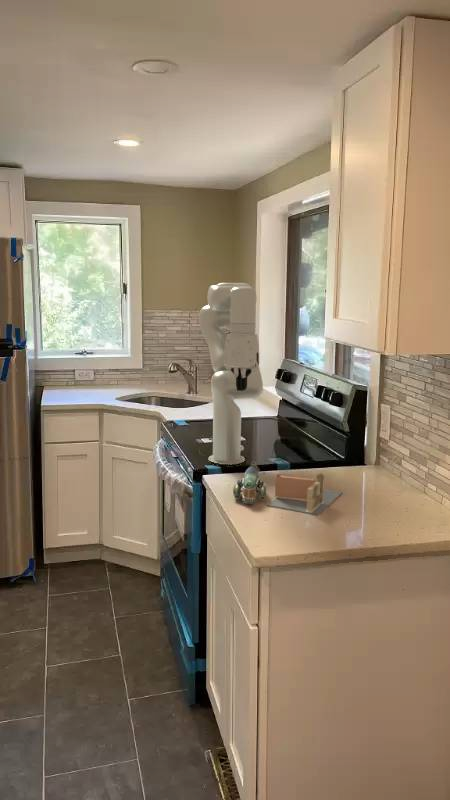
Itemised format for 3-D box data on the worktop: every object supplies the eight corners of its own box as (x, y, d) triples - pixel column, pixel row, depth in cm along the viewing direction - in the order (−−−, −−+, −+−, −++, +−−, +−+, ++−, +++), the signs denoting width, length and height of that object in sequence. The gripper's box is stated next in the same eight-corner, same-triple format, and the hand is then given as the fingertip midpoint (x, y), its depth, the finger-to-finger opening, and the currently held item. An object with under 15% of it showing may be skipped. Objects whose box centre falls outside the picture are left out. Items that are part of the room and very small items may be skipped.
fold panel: (313, 499, 183) (314, 476, 181) (313, 500, 181) (314, 477, 180) (276, 495, 186) (276, 472, 184) (275, 496, 185) (275, 473, 183)
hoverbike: (231, 506, 179) (231, 477, 178) (239, 478, 204) (239, 453, 202) (265, 507, 178) (266, 479, 177) (269, 479, 203) (269, 454, 201)
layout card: (294, 484, 198) (295, 483, 197) (342, 493, 191) (342, 491, 191) (267, 505, 179) (267, 504, 179) (318, 515, 172) (318, 514, 172)
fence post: (316, 501, 183) (317, 471, 181) (324, 502, 182) (325, 472, 180) (304, 512, 175) (305, 481, 173) (312, 513, 174) (313, 482, 172)
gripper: (214, 328, 191) (213, 389, 194) (260, 331, 184) (258, 394, 187) (226, 327, 197) (225, 386, 201) (270, 329, 190) (269, 390, 194)
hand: (241, 390), depth 194 cm, fingers closed
